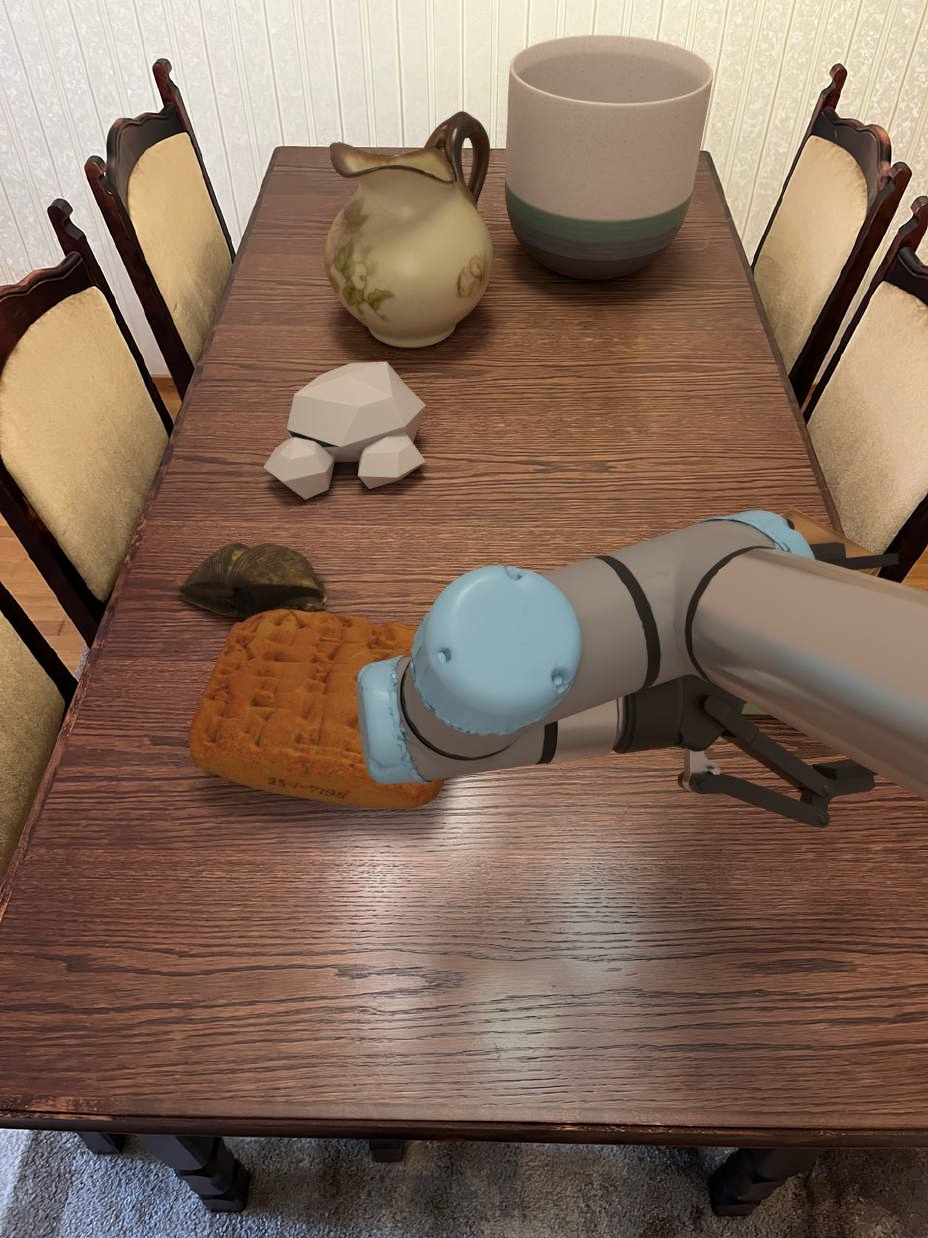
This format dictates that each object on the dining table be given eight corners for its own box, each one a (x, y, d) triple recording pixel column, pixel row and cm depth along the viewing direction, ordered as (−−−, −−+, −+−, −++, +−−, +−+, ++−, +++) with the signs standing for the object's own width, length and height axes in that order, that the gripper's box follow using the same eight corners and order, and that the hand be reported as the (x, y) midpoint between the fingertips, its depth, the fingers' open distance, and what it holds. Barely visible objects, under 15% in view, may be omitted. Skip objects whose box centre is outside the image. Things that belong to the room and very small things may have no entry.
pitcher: (325, 369, 120) (300, 174, 101) (340, 280, 135) (320, 97, 117) (494, 369, 120) (500, 174, 101) (489, 280, 136) (493, 97, 117)
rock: (449, 482, 104) (448, 412, 97) (278, 521, 100) (263, 451, 93) (403, 395, 116) (399, 327, 109) (248, 426, 111) (233, 357, 104)
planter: (651, 218, 149) (681, 30, 129) (699, 302, 131) (742, 99, 111) (490, 227, 147) (495, 37, 126) (516, 314, 129) (527, 109, 109)
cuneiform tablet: (186, 795, 77) (163, 742, 71) (254, 644, 88) (239, 587, 82) (439, 839, 74) (437, 788, 68) (477, 678, 86) (478, 622, 80)
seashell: (165, 615, 90) (155, 555, 86) (208, 570, 97) (200, 512, 93) (319, 646, 87) (316, 586, 83) (352, 597, 94) (350, 539, 90)
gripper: (563, 511, 61) (841, 489, 66) (605, 879, 61) (884, 833, 65) (601, 489, 54) (912, 466, 58) (649, 909, 53) (961, 854, 57)
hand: (898, 659), depth 62 cm, fingers open, 13 cm apart
